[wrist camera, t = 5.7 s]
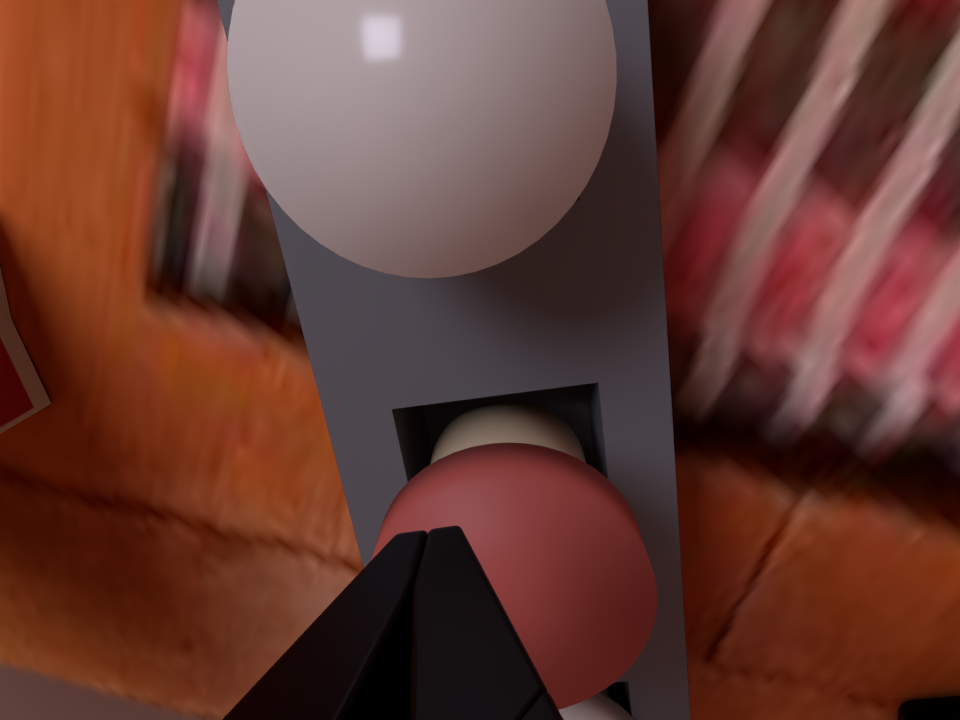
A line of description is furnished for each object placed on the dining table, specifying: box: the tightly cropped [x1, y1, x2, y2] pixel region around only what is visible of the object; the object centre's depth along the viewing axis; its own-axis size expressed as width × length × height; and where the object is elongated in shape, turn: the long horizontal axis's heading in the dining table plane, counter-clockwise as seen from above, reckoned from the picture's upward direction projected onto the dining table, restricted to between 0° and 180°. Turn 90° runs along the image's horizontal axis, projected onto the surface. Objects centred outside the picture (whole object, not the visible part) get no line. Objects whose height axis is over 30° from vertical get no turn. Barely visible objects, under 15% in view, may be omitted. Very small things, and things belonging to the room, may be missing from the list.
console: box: [217, 0, 690, 720], centre depth 20 cm, size 28×9×5 cm, turn 9°
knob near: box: [227, 0, 617, 278], centre depth 13 cm, size 6×6×6 cm
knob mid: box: [372, 400, 657, 710], centre depth 16 cm, size 6×6×6 cm
